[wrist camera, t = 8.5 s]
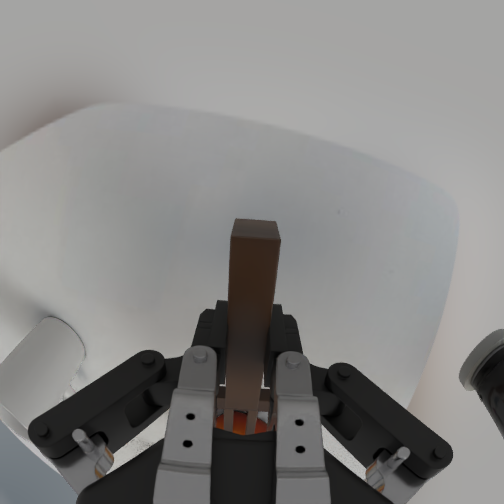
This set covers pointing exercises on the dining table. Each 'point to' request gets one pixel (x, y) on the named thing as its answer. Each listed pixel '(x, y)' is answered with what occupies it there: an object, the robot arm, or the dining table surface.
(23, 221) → the dining table surface
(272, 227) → the fork
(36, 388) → the mug
